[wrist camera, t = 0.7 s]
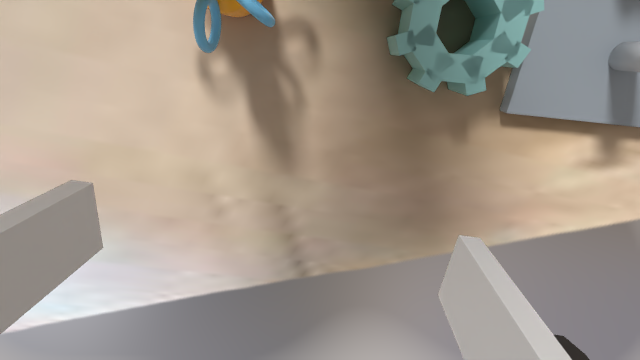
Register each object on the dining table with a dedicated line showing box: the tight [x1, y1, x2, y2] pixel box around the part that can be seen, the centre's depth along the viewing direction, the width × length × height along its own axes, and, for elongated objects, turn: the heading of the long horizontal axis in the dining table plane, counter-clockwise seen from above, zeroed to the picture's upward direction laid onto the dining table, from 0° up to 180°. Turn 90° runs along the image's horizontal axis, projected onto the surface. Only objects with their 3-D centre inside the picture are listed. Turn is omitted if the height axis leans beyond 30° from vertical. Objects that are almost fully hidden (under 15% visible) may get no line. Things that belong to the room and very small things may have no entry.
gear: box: [387, 0, 544, 96], centre depth 27 cm, size 11×11×5 cm
